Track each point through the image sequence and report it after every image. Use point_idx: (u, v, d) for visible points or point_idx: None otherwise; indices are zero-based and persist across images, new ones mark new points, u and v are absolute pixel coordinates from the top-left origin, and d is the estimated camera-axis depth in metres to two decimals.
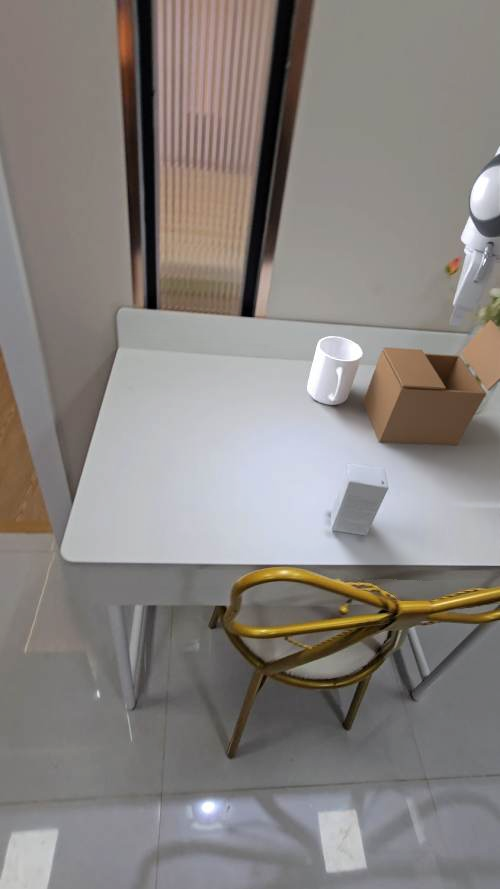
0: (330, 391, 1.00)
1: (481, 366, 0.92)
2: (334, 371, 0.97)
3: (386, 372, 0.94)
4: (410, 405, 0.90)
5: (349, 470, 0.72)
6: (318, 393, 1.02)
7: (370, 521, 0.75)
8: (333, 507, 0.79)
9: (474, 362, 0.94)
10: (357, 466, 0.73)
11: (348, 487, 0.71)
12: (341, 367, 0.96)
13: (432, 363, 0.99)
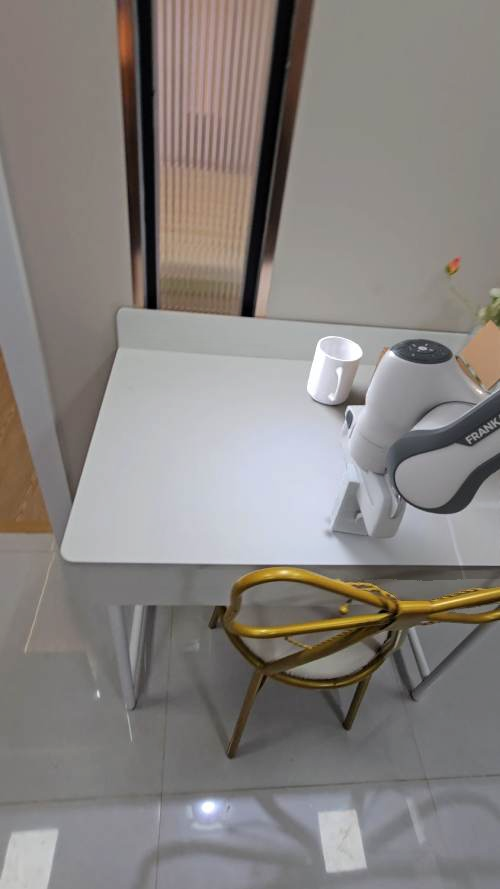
0: (330, 391, 1.00)
1: (481, 366, 0.92)
2: (334, 371, 0.97)
3: None
4: None
5: (349, 470, 0.72)
6: (319, 393, 1.02)
7: None
8: (333, 507, 0.79)
9: (474, 362, 0.94)
10: None
11: (348, 487, 0.71)
12: (341, 367, 0.96)
13: None
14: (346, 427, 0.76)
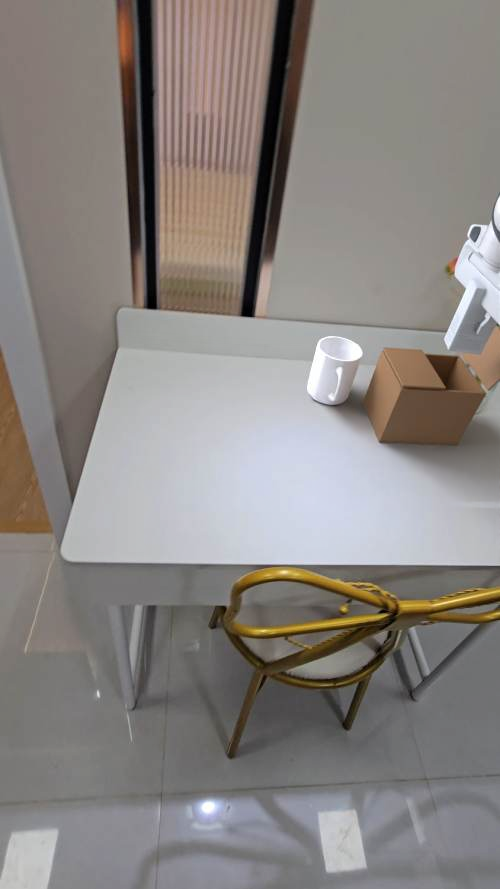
0: (330, 391, 1.00)
1: (481, 366, 0.92)
2: (334, 371, 0.97)
3: (386, 372, 0.94)
4: (410, 405, 0.90)
5: (474, 281, 0.79)
6: (318, 393, 1.02)
7: (487, 336, 0.83)
8: (449, 331, 0.86)
9: (474, 362, 0.94)
10: None
11: (474, 294, 0.78)
12: (341, 367, 0.96)
13: (432, 363, 0.99)
14: (465, 251, 0.83)
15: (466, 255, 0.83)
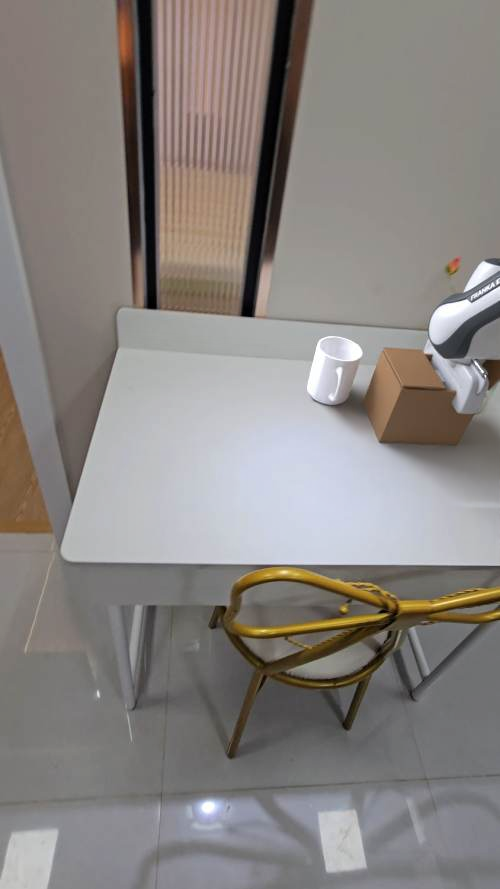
0: (330, 391, 1.00)
1: None
2: (334, 371, 0.97)
3: (386, 372, 0.94)
4: (410, 405, 0.90)
5: None
6: (319, 393, 1.02)
7: None
8: None
9: None
10: None
11: None
12: (341, 367, 0.96)
13: None
14: None
15: (432, 343, 0.98)
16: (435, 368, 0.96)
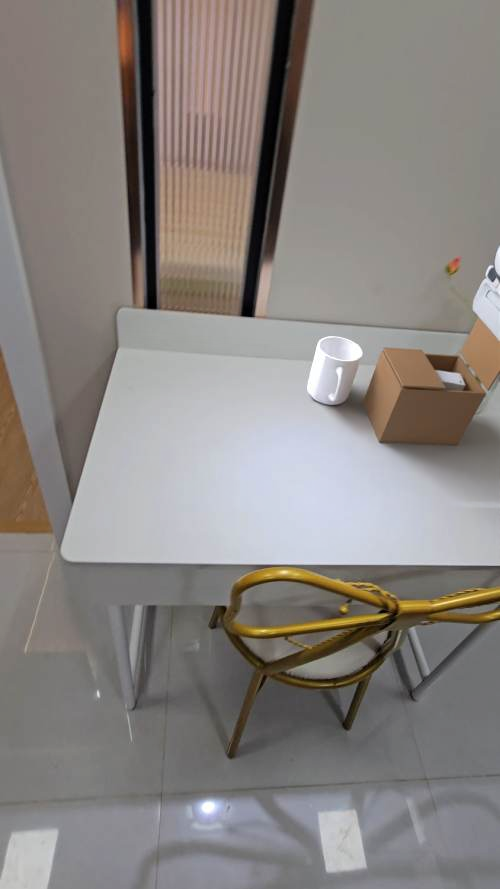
0: (330, 391, 1.00)
1: (478, 366, 0.92)
2: (334, 371, 0.97)
3: (386, 372, 0.94)
4: (410, 405, 0.90)
5: None
6: (319, 393, 1.02)
7: None
8: None
9: (472, 362, 0.94)
10: (439, 371, 0.95)
11: None
12: (341, 367, 0.96)
13: (432, 363, 0.99)
14: (483, 288, 0.90)
15: (484, 292, 0.91)
16: (488, 318, 0.89)
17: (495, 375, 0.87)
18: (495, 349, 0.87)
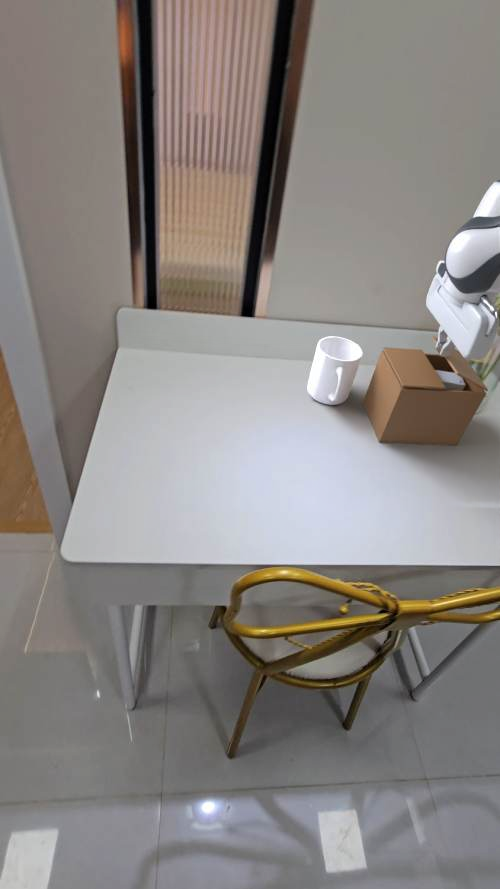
0: (330, 391, 1.00)
1: None
2: (334, 371, 0.97)
3: (386, 372, 0.94)
4: (410, 405, 0.90)
5: None
6: (319, 393, 1.02)
7: None
8: None
9: None
10: (439, 371, 0.95)
11: None
12: (341, 367, 0.96)
13: (432, 363, 0.99)
14: (435, 283, 0.89)
15: (435, 288, 0.89)
16: (439, 314, 0.88)
17: (474, 384, 0.88)
18: None
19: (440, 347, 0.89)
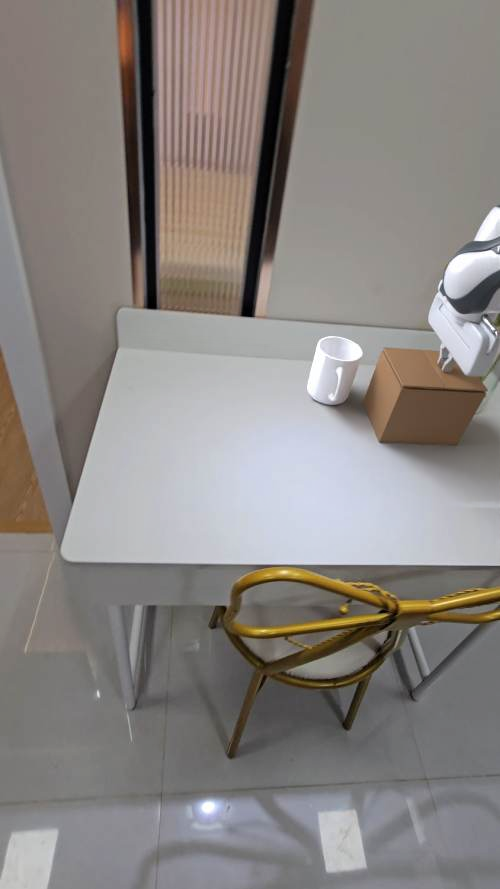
0: (330, 391, 1.00)
1: None
2: (334, 371, 0.97)
3: (386, 372, 0.94)
4: (410, 405, 0.90)
5: None
6: (319, 393, 1.02)
7: None
8: None
9: None
10: None
11: None
12: (341, 367, 0.96)
13: None
14: (437, 301, 0.91)
15: (437, 305, 0.92)
16: (441, 331, 0.90)
17: (470, 390, 0.89)
18: None
19: (442, 363, 0.91)
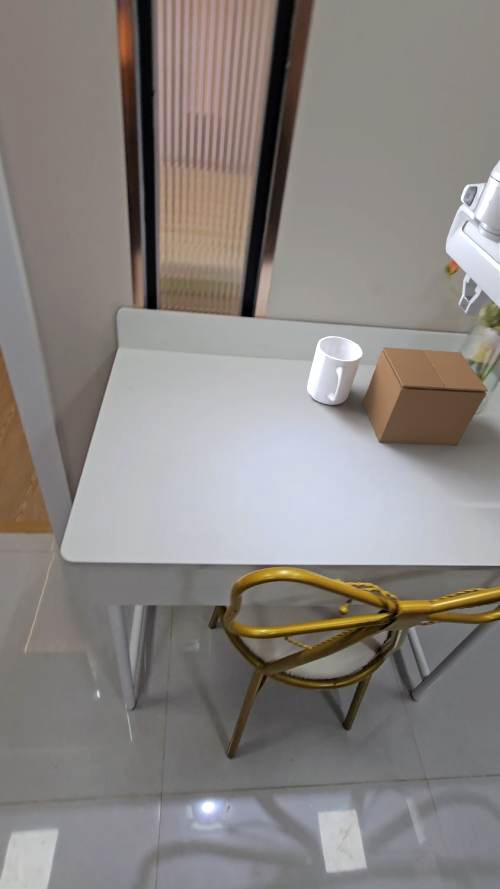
0: (330, 391, 1.00)
1: None
2: (334, 371, 0.97)
3: (386, 372, 0.94)
4: (410, 405, 0.90)
5: None
6: (319, 393, 1.02)
7: None
8: None
9: None
10: None
11: None
12: (341, 367, 0.96)
13: None
14: (459, 219, 0.67)
15: (459, 224, 0.67)
16: (465, 258, 0.66)
17: (470, 390, 0.89)
18: None
19: (466, 303, 0.67)
